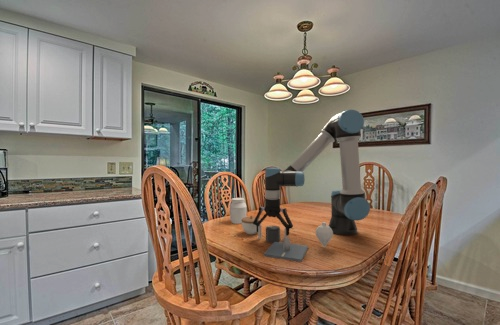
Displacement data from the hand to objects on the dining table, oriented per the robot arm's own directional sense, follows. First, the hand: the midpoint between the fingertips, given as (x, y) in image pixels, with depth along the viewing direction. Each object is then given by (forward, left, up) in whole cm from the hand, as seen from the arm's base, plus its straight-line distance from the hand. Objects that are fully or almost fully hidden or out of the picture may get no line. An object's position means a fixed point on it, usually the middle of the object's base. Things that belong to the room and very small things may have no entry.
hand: (272, 240), depth 122 cm
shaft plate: (-10, +12, 0) cm, 16 cm away
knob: (0, 0, 0) cm, 0 cm away
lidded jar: (+15, -8, 0) cm, 17 cm away
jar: (+32, -27, 0) cm, 42 cm away
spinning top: (-25, +2, 0) cm, 25 cm away
